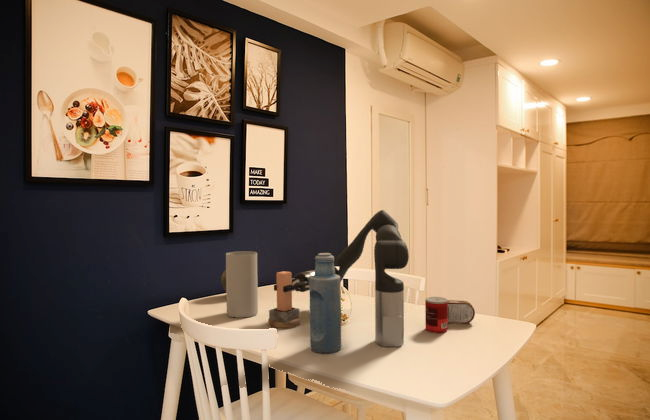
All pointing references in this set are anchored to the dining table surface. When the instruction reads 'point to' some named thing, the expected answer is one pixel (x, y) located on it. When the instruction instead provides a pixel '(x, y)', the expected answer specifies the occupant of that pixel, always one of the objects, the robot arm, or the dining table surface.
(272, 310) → the block holder stand
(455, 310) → the tin
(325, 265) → the bottle
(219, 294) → the dining table surface
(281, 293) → the post
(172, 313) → the dining table surface
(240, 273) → the cylinder vase
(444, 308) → the canned food
